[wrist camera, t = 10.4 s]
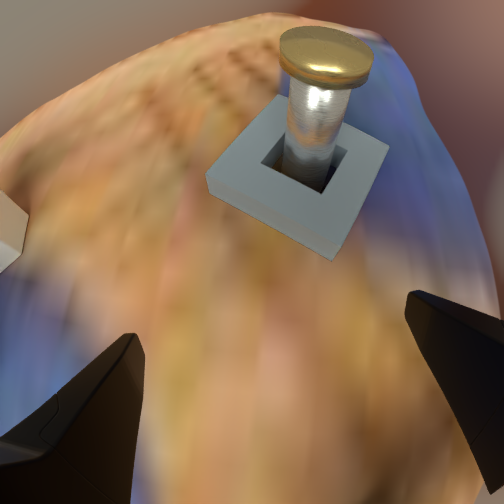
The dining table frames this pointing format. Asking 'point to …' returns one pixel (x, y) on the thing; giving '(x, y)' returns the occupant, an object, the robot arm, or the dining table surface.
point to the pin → (318, 96)
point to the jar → (11, 230)
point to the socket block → (290, 191)
